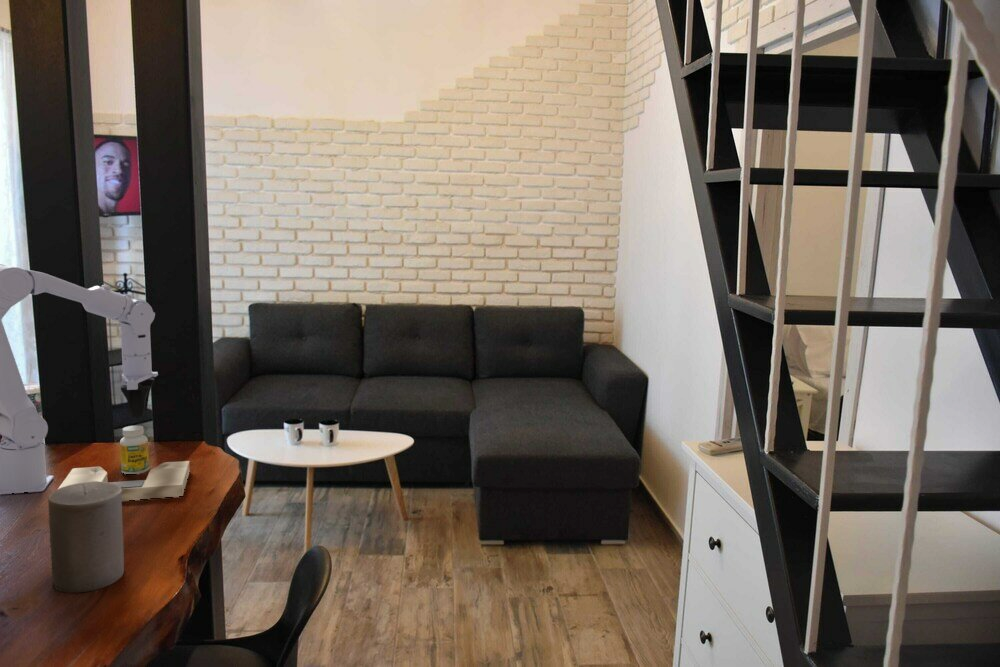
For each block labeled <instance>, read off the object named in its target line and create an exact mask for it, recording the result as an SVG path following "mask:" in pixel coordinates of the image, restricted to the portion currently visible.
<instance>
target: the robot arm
mask: <svg viewBox="0 0 1000 667" xmlns="http://www.w3.org/2000/svg"><path fill="white" fill-rule="evenodd" d="M42 293H46V294H47V293H48V294H51V295H54V296H57V297H60V298H64V299H66V300H71V301H74V302H78V303H81V304H82V307H83V308H84V310H85V312H88V313H91V314H94V315H96V316H100V317H103V318H107V319H109V320H113V321H116V322H119V323H120V340H121V341H120V342H121V361H122V362H121V363H122V366H121V367H122V374H121V378H122V379H123V380H124V382H125V385H124V384H123V385H121V386H120V391H121V393H122V394H123V396H124V398H125V399H126V401H127V404H128V408H129V411H130V415H131V417H132V418H142V417H144V414H145V412H146V411H147V409H148V404H149V397H150V392H151V390H152V385H153V384H154V382H155V378H156V377H157V376H159V373H158V371H153V370H152V368H153V367H152V364H153V363H152V347H151V345H152V344H151V343H152V342H151V324H152V323H153V322H154V320H155V318H156V317H155V316H156V312H154V310H153V308H152V306H151V305H150V304H149V303H148V302H147V301H144V300H141V299H135V298H133V296H132V295H131V294H129V293H124V294H122V293H119V292H116V291H114V290H111V287H110V286H108V285H105V284H102V285H101V286H100V285H94V286H92V287H89V288H86V287H83V286H80V285H78V284H76V283H72V282H71V281H70V282H69V281H67V280H64V279H62V278H59V277H57V276H53V275H50V274H48V273H45V272H41V271H37V270H36V271H35V270H31V269H27V268H26V269H25V268H21V267H17V266H7V265H5V264H1V263H0V436H2V438H1V439H0V495H12V493H14V494H25V493H24V492H28V493H39V492H44V490H45V489H46V488H47V487H48V485H49V484H50V483H51V482H52V481H53V479H54V475H47V467H46V465H47V464H46V453H45V452H46V450H45V438H46V437H47V435H48V431H49V425H48V422H47V421H46V420H45V418H43V417H42V416H41V415H40V414H39V413H38V411H37V408H36V405H35V404H34V403H33V401H32V400H31V399H30V397H29V396H28V393H27V391H26V388H25V384H24V382H23V379H22V376H21V373H20V371H19V368H18V365H17V361H16V359H15V356H14V352H13V350H12V347H11V343H10V341H9V338H8V336H7V333H6V329H5V327H4V324H3V321H2V319H3V318H4V316H6V314H7V313H8V312H9V311H10V310H11V308H12V307H14V306H16V305H17V304H18V303H19V302H21V301H23V300H24V299H26V298H27V297H28V296H29V295H30V294H31V295H33V296H36V295H39V294H42Z"/></svg>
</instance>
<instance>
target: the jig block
mask: <svg viewBox="0 0 1000 667" xmlns="http://www.w3.org/2000/svg"><path fill="white" fill-rule="evenodd" d="M190 470H191V469H190V460H184V461H183V460H182V461H166V462H162V463H160V464H158V465H156V466H154V467H153V468H151V469H150V470H149V472H148V475H147V476H146V479H142V480H141V479H138V480H127V481H126V480H125V481H112V482H111V481H109V480H108V472H107V471H106V470H105V469H104V468H102V467H101V466H88V467H75V468H74V467H73V468H72V469H71V470H70V472H69V473H68V474H67V475H66V478H64V479H63V481H62V483H61V484H60V485H59V487H58V488H57V489H59V488H62V487H65V486H68V485H73V484H77V483H84V482H91V481H98V482H109V483H113V484H117V485H118V486H121V489H122V492H121V496H122V502H130V501H129V500H135V501H141V500H140V499H148V500H151V499H150V498H161V499H166V498H165V497H173V498H180V497H179V496H184V492H185V490H186V487H187V484H188V480H187V479H189V475H190V473H189V472H190ZM184 489H185V490H184Z"/></svg>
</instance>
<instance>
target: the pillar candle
mask: <svg viewBox="0 0 1000 667" xmlns="http://www.w3.org/2000/svg"><path fill="white" fill-rule="evenodd" d="M109 482H110V481H108V482H98V481H91V482H84V483H77V484H73V485H68V486H65V487H62V488H59V487H58V488H59V489H58V488H57V489H55V490H54V491H53V492H51V493H50V494H49V496H48V500H47V501H48V502H47V503H48V525H49V544H50V560H51V574H52V576H51V577H52V581H51V582H52V587H53V588H54V589H55V590H57V591H58V592H62V593H67V594H71V593H72V594H73V593H77V594H79V593H86V592H92V591H97V590H101V589H102V588H105V587H108V586H110V585H112V584H114V583H115V582H117V581H119V579H121V578H122V577H123V575H124V572H125V558H124V556H125V554H124V527H123V525H124V524H123V504H122V503H123V501H122V496H121V492H122V489H121V486H118V485H117V484H113V483H109Z"/></svg>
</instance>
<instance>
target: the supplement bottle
mask: <svg viewBox="0 0 1000 667" xmlns="http://www.w3.org/2000/svg"><path fill="white" fill-rule="evenodd" d="M144 432H145V430H144V426H143V425H140V424H139V425H128V426H125V427H123V428H122V436H123V437H122V438H121V439H120V441H119V453H120V466H121V468H120V469H121V470H120V471H121V473H122V474H123V473H124V475H126V474H137V475H141V474H140V473H142V474H144V473H146V472H148V471H150V470H149V469H150V459H149V439H148V437H147V436H146V435H145V434H144Z"/></svg>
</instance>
